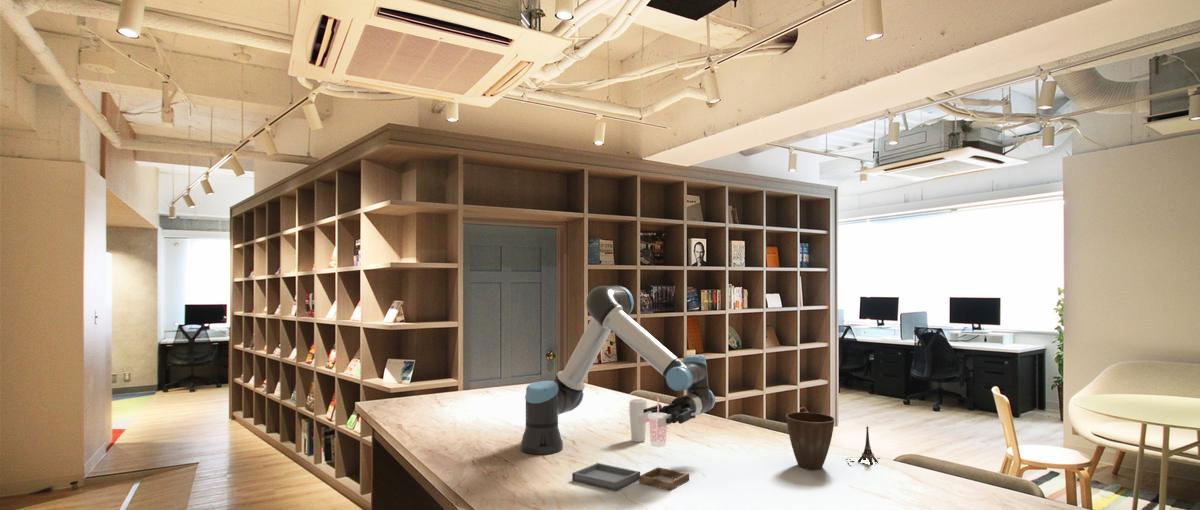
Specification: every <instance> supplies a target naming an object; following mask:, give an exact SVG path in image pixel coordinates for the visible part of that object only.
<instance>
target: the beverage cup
mask: <svg viewBox="0 0 1200 510" xmlns="http://www.w3.org/2000/svg"><path fill="white" fill-rule="evenodd" d="M659 404H660V398H659V397H657V404H656V405H657V412H656V413H649V414H648V418H649V422H648V423H649V424H648V425H649V438H650V446H652V447H656V448H660V447H661V448H662V447H666V446H667V431H668V425H666V426H664V427H661V428H659V427H658V418H660V417H662V416H665V415H667V414H666V413H659Z"/></svg>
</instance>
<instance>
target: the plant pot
mask: <svg viewBox="0 0 1200 510" xmlns="http://www.w3.org/2000/svg"><path fill="white" fill-rule="evenodd" d="M785 418H786V423H787V424H786V425H787V431H788V435H789V436H788V437H789V441H790V444H791V447H792V451H793V454H794V458H795V461H796V463H797V465H798V467H799V468H802V469H806V470H811V471H812V470H813V471H814V470H815V471H816V470H821V469H822V468H823V466H824V463H825V461H826V459H827V456H828V453H829V450H830V446H831V441H832V438H833V437H832V436H833V431H834V427H835V418H834V416H831V415H828V414H824V413H818V412H809V411H807V412H806V411H798V412H797V411H795V412H789V413H787V414H785Z"/></svg>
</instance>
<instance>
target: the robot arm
mask: <svg viewBox="0 0 1200 510" xmlns="http://www.w3.org/2000/svg"><path fill="white" fill-rule="evenodd" d="M634 301H635V300H634V297H633V295H632V293H631V291H630V290H628V289H627V287H624V286H621V285H600V286H596V287H594V288H593V289H592V290H590V291H589V292H588V295H587V297H586V300H585V302H586V303H585V304H586V309H587V311H588V314H589V315H590V317H591V319H590V320H589V322H588V325H587V326H586V328H585V330H584V331H583V334H582V335H581V337H580V339H579V341H578V342H577V344H576V346H575V349H574V350H573V352H572V354H571V355H570V357H569V359H568V360H567V363H566V366H565V367H564V369H563V370H560V371H558V372H557V373H556V375H555V377H554V378H553V380H540V381H535V382H532V383H530V384H528V385H527V386H526V388H525V396H524V399H525V428H524V431H523V435H522V438H521V441H520V451H521V452H523V453H525V454H530V455H549V454H555V453H559V452H561V451H562V450H563V449H564V442H563V439H562V436H561V432H560V429H559V415H560V414H564V413H568V412H571V411H573V410H575V409H576V408H578V407H579V406H580V404H581V403H582V402H583V398H584V389H585V388H586V387H585V382H584V381H585V379H586V378H587V375H588V374H589V373H590V370H591V368H592V366H593V365H594V363H595V361H596V359H597V357H598V356H599V354H600V352H601V350H602V348H603V347H604V345H605V343H606V341H607V339H608V338H609V335H610V334H611V332H613V333H614V334H615V335H616V336H617V337H619V338H620V339H621V340H622V341H623V342H624V343H625V344H627V345H628V346H629V347H630V348H631V349H632V350H633V351H635V352H636V354H638V355H639V356H640V357H641V358H643V360H644V361H646V362H647V363H648V364H649V365H650V366H651V367H652V368H653V369H655V370H656V371H657V372H658V373H660V374H661V376H663V377H664V378H665V380H666V381H665V382H666V384H667V386H668V387H669V388H670V389H671V390H673V391H675V392H681V391H686V394H682V395H681V396H677V397H675V398H674V399H672V401H671V403H670V404H667V405H662V404H660V403H659V413H666V414H667V415H665V416H662V417H660V418H658V427H659V428H661V427H664V426H666V425H667V426H668V425H671V424H677V423H678V424H681V425H682V424H684V423H685V422H688V421H689V420H691V419H695V418H696V416H699V415H702V414H705V413H707V412H709V411H710V410H711V409H713V408H714V406H715V403H716V396H715V395H714V393H713V392H712V390H710V386H709V375H708V364H707V361H706V357H705V355H703V354H692V355H691V354H690V355H686V356H684V357H683V361H682V360H681V359H680V358H678V356H677V355H675V354H674V353H673V352H671V351H670V350H669V349H668V348H667V347H666V346H664V345H663V344H662V343H661V342H660V341H659V340H658V339H656V338H655V337H654V336H653V335H652V334H651V333H649V331H647V330H646V329H645V328H644V327H642V326H641V325H640V324H639V323H638V322H637V321H635V320H634V319H633V318H632V317H630V316H629V315H630V314H631V313H632V311H633V309H634V306H635V304H634ZM656 412H657V404H656V405H654V406H651V407H647V409H643V414H640V415H638V424H643V423H646V424H647V423H649V418H648V414H649V413H656Z"/></svg>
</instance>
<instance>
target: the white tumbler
mask: <svg viewBox="0 0 1200 510" xmlns="http://www.w3.org/2000/svg"><path fill="white" fill-rule="evenodd" d="M628 401H629V403H628V405H629V407H628V408H629V409H628V413H629V424H630V434H631V435H630V436H631V437H630V438H631V441H632V442H633V443H634V442H635V443H642V442H645V441H646V433H647V432H646V431H647V430H646V429H647V422H646V423H643V424H638V415H640V414H643V409H647V408H648V401H647V399H642V398H633V399H630V400H628Z"/></svg>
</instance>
